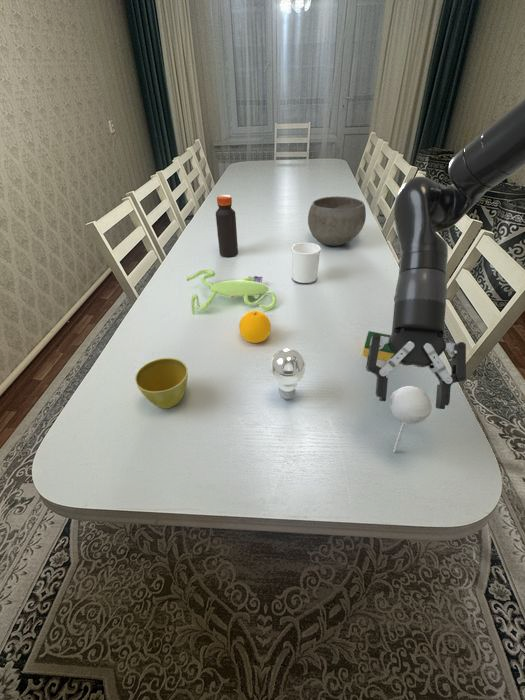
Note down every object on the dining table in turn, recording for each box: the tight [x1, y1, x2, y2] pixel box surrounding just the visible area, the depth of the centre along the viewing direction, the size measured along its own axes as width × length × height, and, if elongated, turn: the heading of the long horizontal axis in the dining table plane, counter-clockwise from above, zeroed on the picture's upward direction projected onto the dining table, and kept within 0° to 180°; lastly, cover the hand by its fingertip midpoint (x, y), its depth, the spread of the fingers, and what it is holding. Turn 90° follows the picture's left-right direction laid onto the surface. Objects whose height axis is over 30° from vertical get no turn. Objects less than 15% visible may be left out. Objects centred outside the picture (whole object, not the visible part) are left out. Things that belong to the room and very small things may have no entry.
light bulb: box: [269, 348, 307, 400], centre depth 71 cm, size 7×7×12 cm
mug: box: [291, 242, 322, 285], centre depth 113 cm, size 11×9×10 cm
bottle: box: [215, 194, 239, 258], centre depth 126 cm, size 7×7×20 cm
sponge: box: [362, 330, 402, 365], centre depth 84 cm, size 9×6×3 cm, turn 69°
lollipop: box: [389, 385, 433, 453], centre depth 59 cm, size 6×6×15 cm
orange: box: [238, 310, 272, 344], centre depth 88 cm, size 8×8×8 cm
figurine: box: [186, 269, 278, 315], centre depth 105 cm, size 18×27×6 cm
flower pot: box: [134, 357, 189, 409], centre depth 72 cm, size 10×10×7 cm
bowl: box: [307, 196, 367, 247], centre depth 134 cm, size 21×21×15 cm
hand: (411, 404), depth 55 cm, fingers open, 8 cm apart
